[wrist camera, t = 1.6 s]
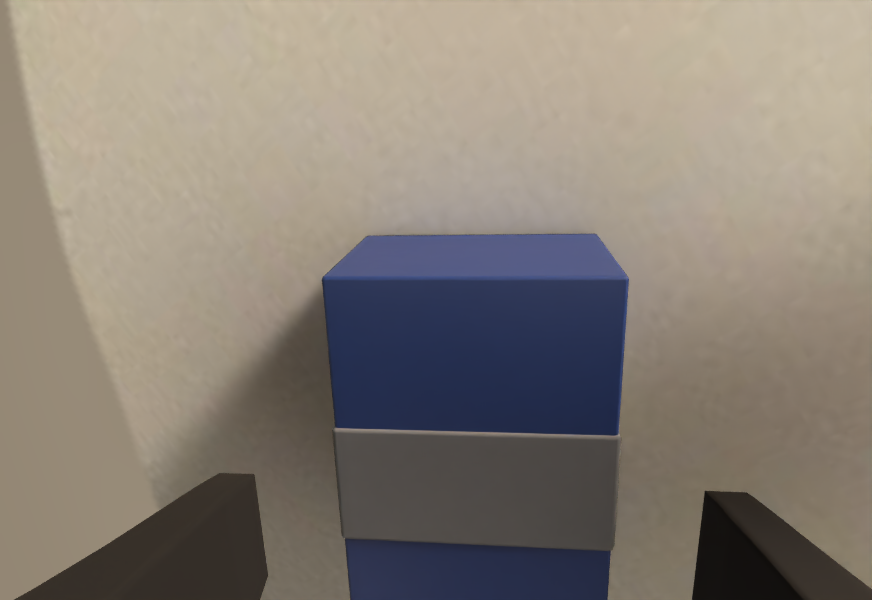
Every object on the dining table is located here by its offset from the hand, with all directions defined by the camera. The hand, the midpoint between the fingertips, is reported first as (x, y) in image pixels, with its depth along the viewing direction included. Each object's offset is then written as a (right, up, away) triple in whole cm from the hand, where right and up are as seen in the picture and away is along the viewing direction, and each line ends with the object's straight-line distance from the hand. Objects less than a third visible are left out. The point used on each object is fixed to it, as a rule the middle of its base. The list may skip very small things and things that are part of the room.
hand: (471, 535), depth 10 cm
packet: (+1, +1, +5) cm, 5 cm away
